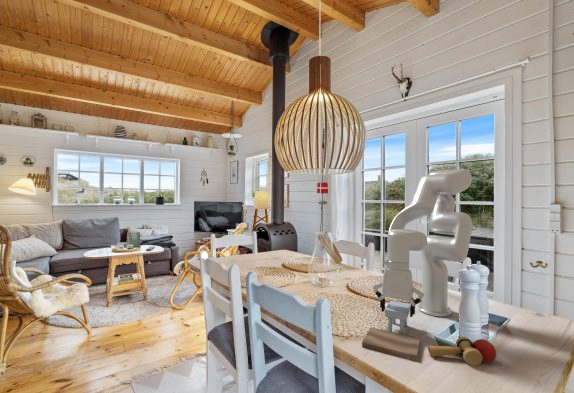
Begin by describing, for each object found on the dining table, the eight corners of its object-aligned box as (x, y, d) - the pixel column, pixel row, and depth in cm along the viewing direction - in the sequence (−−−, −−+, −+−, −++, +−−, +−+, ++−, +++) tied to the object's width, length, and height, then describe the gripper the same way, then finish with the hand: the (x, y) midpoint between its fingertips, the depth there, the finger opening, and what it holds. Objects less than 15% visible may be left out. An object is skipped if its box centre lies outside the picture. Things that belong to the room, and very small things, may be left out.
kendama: (436, 369, 83) (505, 366, 80) (431, 345, 84) (499, 342, 82) (428, 359, 90) (490, 356, 88) (424, 337, 92) (485, 334, 89)
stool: (389, 321, 111) (390, 300, 111) (409, 325, 108) (409, 304, 108) (384, 332, 103) (385, 309, 102) (406, 336, 99) (406, 313, 99)
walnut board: (370, 331, 103) (370, 327, 103) (420, 342, 95) (420, 338, 95) (361, 346, 92) (361, 342, 92) (416, 360, 85) (416, 355, 85)
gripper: (371, 264, 106) (370, 311, 106) (423, 271, 98) (422, 322, 97) (375, 260, 112) (374, 305, 112) (425, 266, 104) (424, 314, 104)
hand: (397, 313), depth 105 cm, fingers open, 9 cm apart
